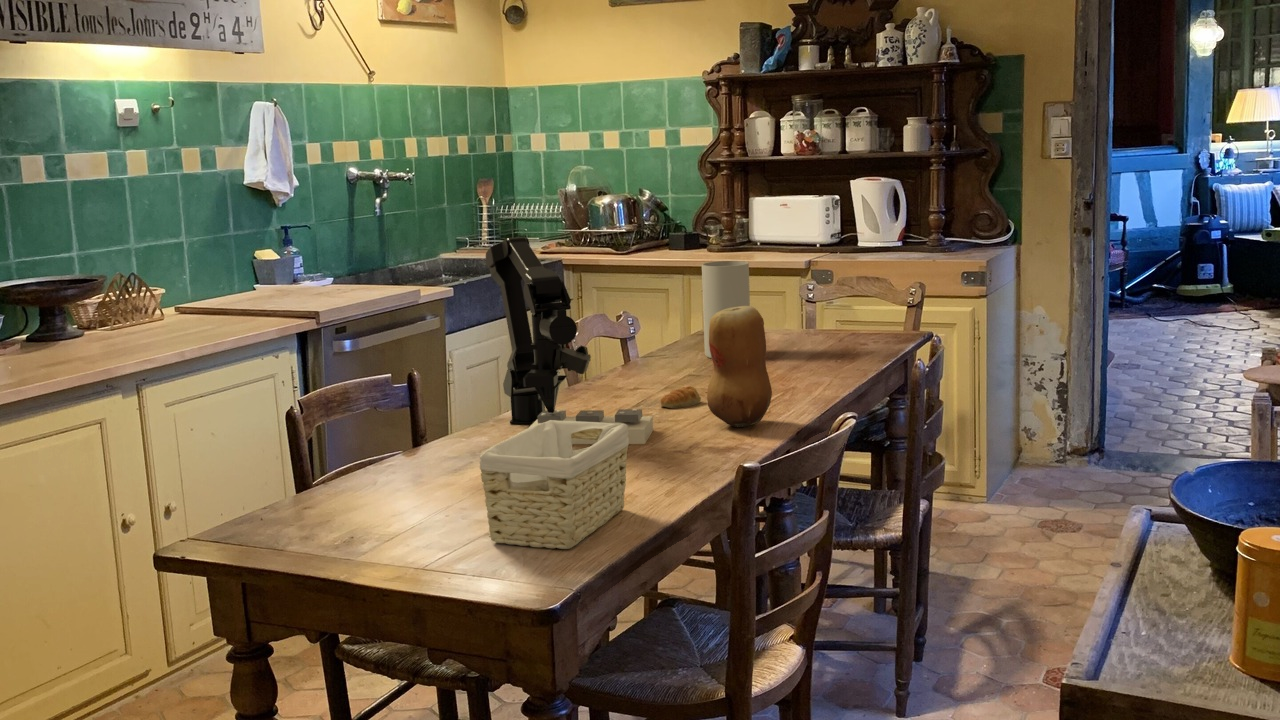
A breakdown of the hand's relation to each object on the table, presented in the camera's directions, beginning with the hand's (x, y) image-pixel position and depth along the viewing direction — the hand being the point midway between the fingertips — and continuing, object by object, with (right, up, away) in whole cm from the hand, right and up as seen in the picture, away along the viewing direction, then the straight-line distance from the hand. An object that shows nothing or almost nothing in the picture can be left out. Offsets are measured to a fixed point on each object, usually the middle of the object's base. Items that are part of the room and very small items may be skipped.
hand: (551, 412), depth 249 cm
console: (+8, -5, 0) cm, 10 cm away
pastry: (+27, 0, +25) cm, 37 cm away
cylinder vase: (+42, +12, +79) cm, 91 cm away
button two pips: (+16, -1, -2) cm, 16 cm away
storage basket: (+6, -16, -55) cm, 58 cm away
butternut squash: (+39, -3, +3) cm, 39 cm away
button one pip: (+8, -2, -1) cm, 8 cm away
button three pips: (0, -2, 0) cm, 2 cm away
